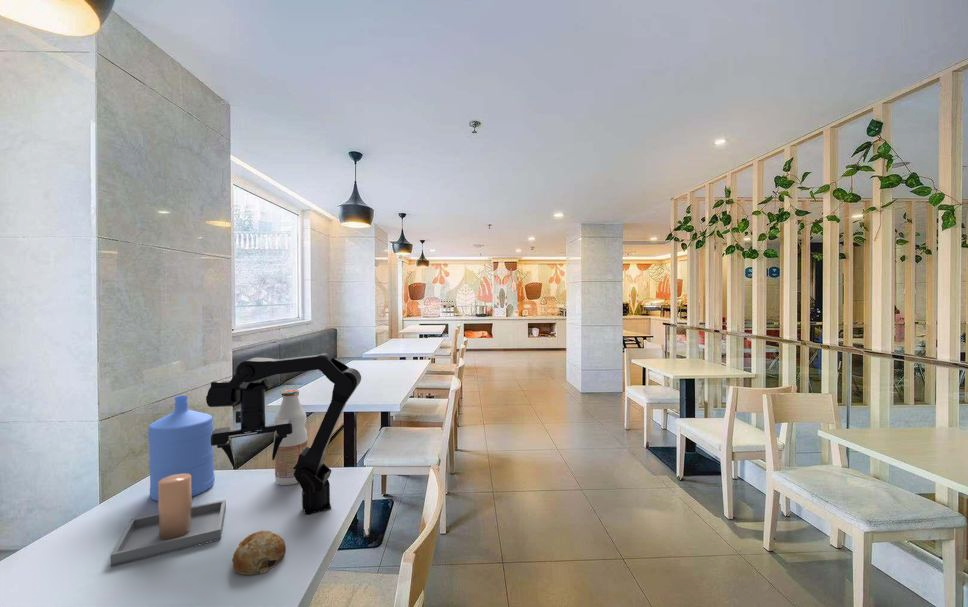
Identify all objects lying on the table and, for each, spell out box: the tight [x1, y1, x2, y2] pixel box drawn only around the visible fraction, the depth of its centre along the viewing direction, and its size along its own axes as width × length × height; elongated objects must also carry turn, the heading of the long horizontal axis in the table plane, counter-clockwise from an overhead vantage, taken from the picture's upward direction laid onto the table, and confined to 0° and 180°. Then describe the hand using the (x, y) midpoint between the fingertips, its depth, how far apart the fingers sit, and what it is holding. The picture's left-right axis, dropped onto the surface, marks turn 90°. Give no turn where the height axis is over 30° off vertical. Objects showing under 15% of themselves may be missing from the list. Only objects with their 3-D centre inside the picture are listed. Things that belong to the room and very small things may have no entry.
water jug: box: [147, 395, 216, 502], centre depth 123 cm, size 16×16×28 cm
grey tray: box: [110, 499, 227, 567], centre depth 101 cm, size 20×16×2 cm
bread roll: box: [231, 530, 287, 576], centre depth 90 cm, size 10×10×8 cm
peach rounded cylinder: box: [158, 473, 193, 540], centre depth 101 cm, size 6×6×13 cm
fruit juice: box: [274, 389, 309, 486], centre depth 130 cm, size 9×9×28 cm
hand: (253, 463), depth 111 cm, fingers open, 9 cm apart
